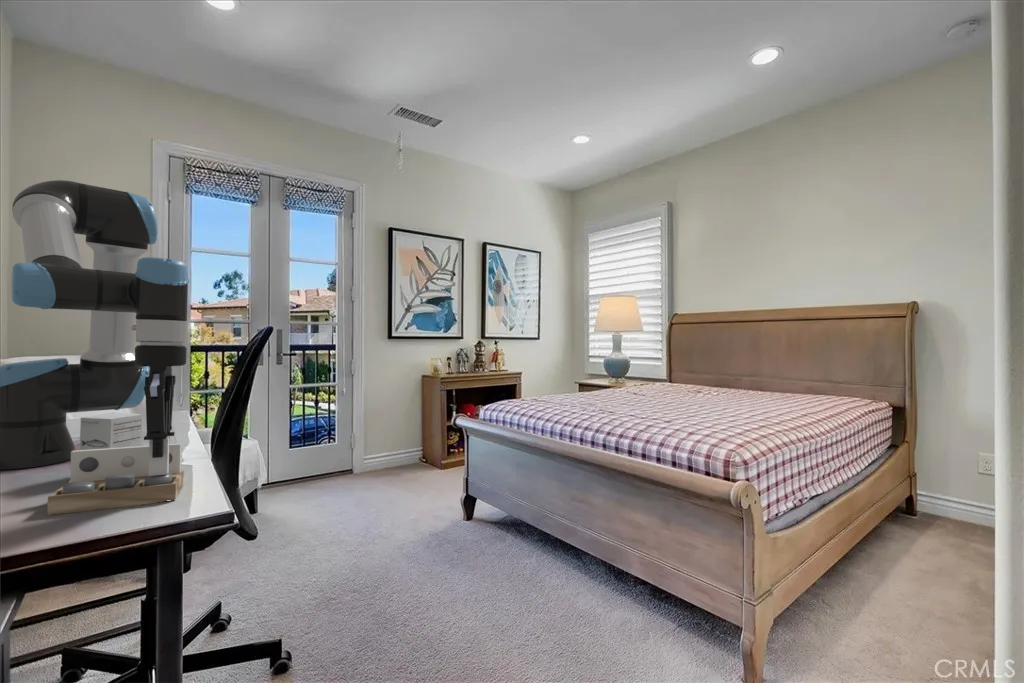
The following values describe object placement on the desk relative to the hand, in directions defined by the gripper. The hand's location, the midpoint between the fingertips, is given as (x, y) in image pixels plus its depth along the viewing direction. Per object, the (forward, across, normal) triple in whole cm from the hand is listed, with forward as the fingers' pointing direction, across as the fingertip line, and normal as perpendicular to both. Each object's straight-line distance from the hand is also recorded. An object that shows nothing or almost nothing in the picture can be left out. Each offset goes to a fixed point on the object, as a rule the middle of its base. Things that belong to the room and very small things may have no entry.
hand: (158, 474), depth 85 cm
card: (+1, -6, -6) cm, 8 cm away
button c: (+2, 0, 0) cm, 2 cm away
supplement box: (+5, -21, -12) cm, 25 cm away
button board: (+4, -2, -6) cm, 7 cm away
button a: (+2, 0, -11) cm, 11 cm away
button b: (+2, 0, -6) cm, 6 cm away
